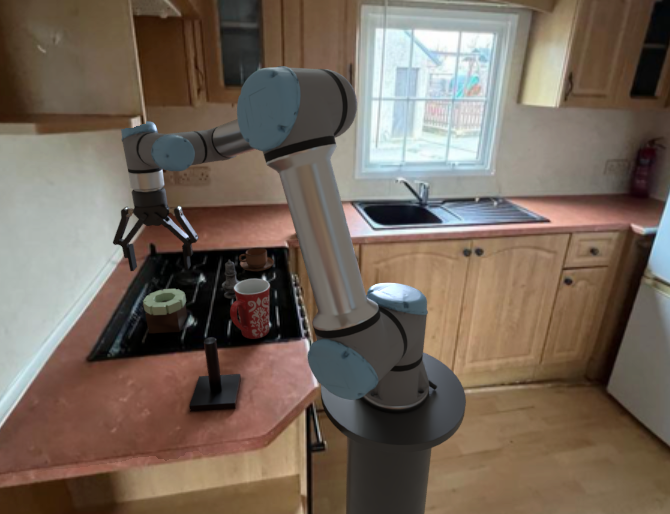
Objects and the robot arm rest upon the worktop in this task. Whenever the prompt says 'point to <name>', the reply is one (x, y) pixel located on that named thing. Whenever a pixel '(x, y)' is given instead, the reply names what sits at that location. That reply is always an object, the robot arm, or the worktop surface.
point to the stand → (215, 384)
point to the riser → (166, 321)
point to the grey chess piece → (230, 280)
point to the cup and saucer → (256, 260)
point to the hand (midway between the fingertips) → (161, 268)
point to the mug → (251, 308)
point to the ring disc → (158, 307)
